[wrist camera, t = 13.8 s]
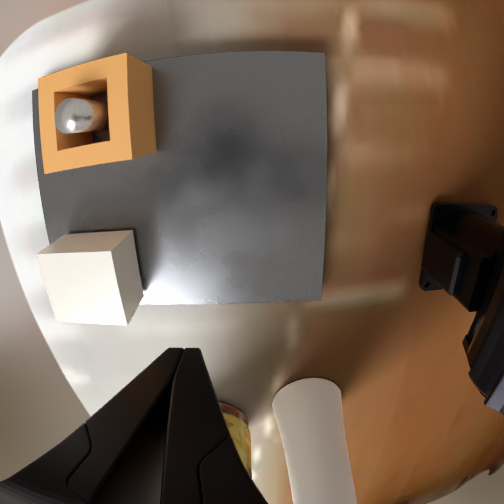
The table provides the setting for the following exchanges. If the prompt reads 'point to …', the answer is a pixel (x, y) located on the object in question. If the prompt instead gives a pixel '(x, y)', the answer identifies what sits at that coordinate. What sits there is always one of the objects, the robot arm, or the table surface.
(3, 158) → the table surface
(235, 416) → the sauce bottle
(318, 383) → the cosmetic bottle
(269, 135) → the base plate
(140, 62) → the orange hollow square block
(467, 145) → the table surface
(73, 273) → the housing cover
